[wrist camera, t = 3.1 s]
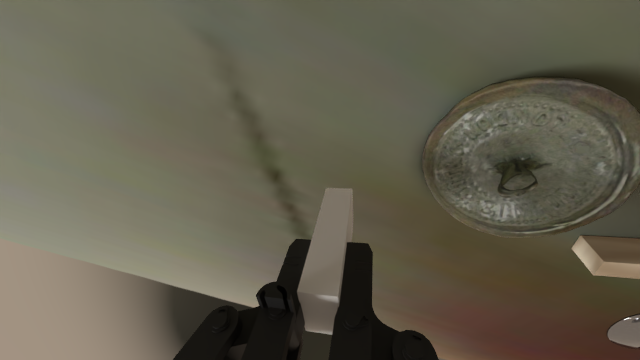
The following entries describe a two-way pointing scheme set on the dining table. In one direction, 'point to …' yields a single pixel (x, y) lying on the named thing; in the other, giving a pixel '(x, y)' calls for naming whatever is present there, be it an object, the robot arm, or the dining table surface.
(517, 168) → the lid
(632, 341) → the wine glass
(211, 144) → the dining table surface
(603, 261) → the wooden u-shaped frame
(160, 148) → the dining table surface
